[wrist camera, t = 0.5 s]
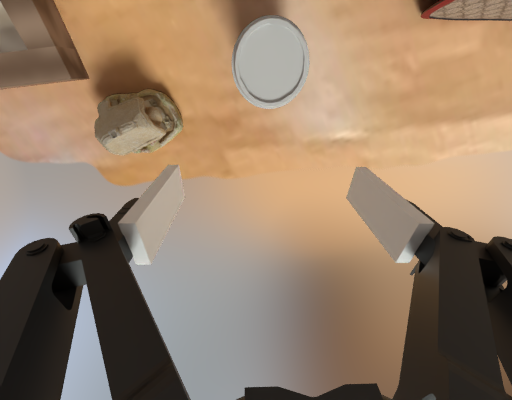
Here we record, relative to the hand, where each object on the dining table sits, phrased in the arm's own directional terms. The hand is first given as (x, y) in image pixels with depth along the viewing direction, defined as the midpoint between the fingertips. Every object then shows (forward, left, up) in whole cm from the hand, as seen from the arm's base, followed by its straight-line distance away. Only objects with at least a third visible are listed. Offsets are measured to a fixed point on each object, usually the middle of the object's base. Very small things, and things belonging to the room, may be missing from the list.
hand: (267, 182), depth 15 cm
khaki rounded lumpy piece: (-2, -21, -27) cm, 34 cm away
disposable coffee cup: (-8, +2, -27) cm, 28 cm away
